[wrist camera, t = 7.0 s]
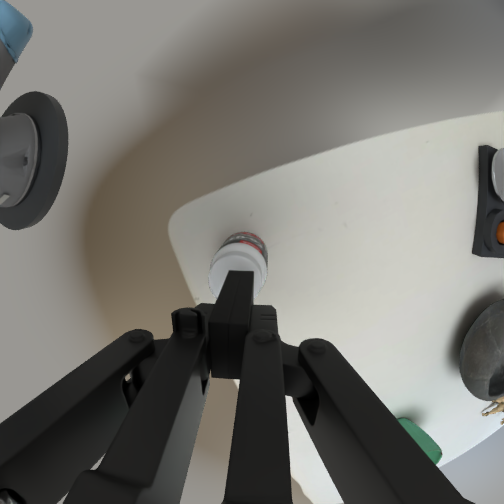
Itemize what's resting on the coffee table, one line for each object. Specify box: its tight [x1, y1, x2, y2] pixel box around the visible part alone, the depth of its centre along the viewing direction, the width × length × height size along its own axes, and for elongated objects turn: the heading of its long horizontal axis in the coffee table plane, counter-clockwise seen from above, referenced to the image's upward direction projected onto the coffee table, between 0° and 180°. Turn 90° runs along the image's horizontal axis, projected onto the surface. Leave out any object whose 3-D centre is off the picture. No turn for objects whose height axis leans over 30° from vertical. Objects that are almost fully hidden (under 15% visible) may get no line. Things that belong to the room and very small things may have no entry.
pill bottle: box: [208, 232, 268, 300], centre depth 24 cm, size 5×5×8 cm
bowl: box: [459, 299, 504, 401], centre depth 24 cm, size 15×15×10 cm
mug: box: [397, 418, 442, 465], centre depth 29 cm, size 15×10×10 cm
